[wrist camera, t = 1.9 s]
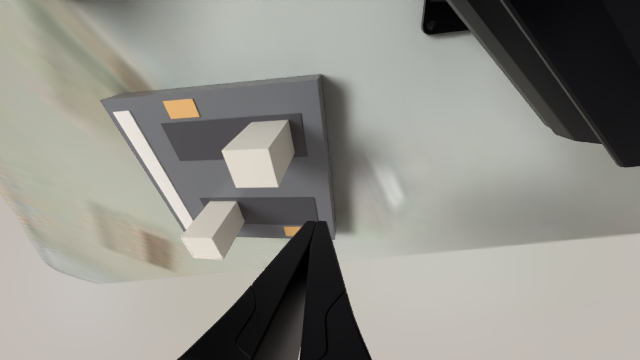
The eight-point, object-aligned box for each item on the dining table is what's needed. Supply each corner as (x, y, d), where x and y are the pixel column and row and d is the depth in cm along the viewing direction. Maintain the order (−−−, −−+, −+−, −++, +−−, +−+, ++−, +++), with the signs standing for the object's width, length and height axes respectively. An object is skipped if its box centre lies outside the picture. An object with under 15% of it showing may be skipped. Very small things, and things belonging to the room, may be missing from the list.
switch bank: (320, 74, 17) (316, 80, 15) (336, 226, 26) (334, 240, 24) (120, 93, 20) (98, 100, 18) (195, 223, 29) (185, 235, 27)
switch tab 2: (288, 119, 17) (268, 148, 13) (294, 152, 19) (278, 187, 15) (251, 122, 18) (221, 150, 14) (260, 154, 19) (235, 187, 15)
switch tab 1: (236, 201, 23) (211, 238, 19) (244, 221, 24) (223, 259, 20) (209, 201, 23) (180, 237, 19) (219, 221, 25) (193, 258, 21)
